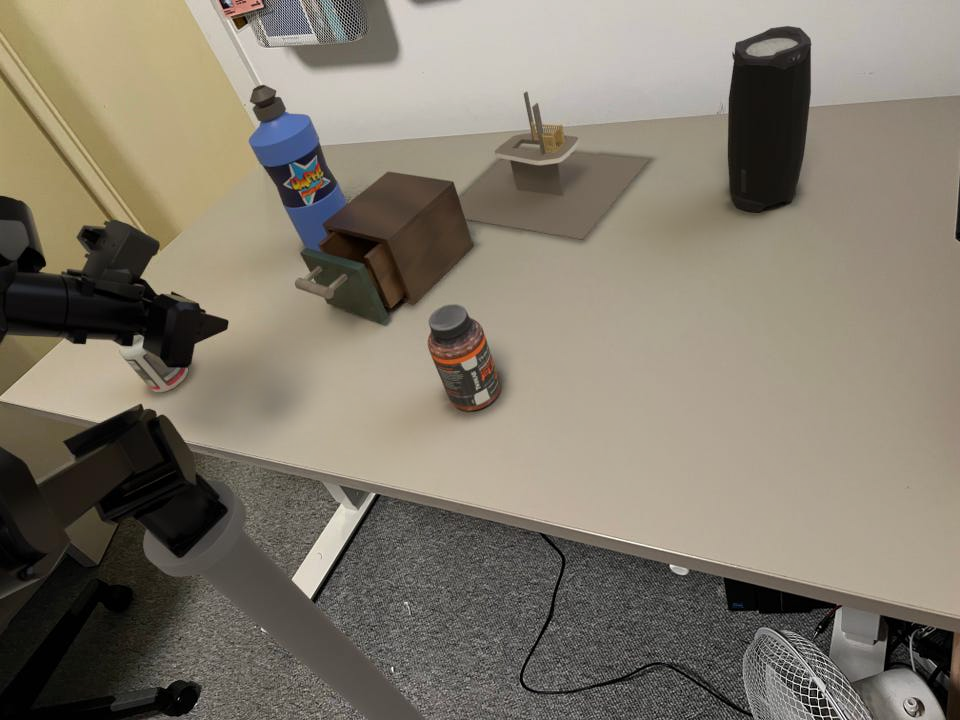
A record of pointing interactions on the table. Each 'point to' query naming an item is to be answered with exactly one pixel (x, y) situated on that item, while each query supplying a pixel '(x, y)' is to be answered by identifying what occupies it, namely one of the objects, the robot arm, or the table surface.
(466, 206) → the architectural model
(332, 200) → the water bottle
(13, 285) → the robot arm
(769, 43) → the portable speaker
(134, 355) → the pill bottle
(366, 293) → the drawer
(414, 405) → the table surface
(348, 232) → the cabinet
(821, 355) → the table surface
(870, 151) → the table surface
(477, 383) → the supplement bottle
